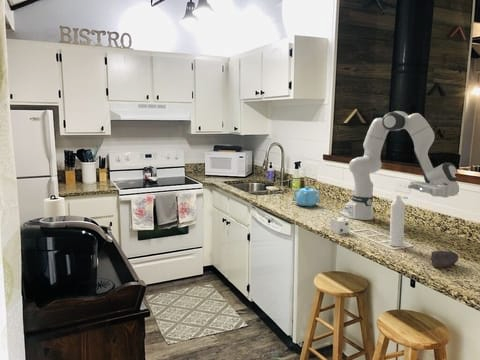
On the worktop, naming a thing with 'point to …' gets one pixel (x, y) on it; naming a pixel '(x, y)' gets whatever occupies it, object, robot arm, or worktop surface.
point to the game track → (380, 241)
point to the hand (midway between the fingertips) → (414, 188)
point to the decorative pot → (306, 197)
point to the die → (339, 225)
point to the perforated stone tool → (443, 258)
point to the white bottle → (397, 221)
